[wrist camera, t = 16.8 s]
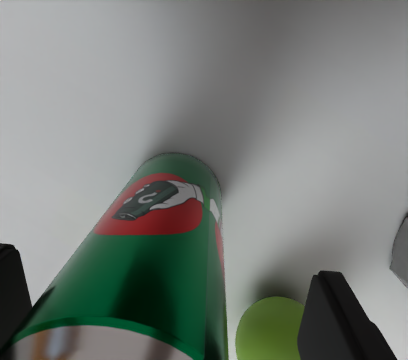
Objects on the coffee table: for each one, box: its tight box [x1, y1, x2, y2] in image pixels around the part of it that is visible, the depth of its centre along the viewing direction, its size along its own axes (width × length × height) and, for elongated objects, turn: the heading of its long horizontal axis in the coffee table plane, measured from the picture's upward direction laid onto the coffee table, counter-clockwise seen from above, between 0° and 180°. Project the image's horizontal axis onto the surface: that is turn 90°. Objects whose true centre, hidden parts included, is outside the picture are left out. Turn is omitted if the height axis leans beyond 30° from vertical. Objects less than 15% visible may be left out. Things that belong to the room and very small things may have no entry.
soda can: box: [0, 153, 229, 360], centre depth 10 cm, size 5×5×12 cm
